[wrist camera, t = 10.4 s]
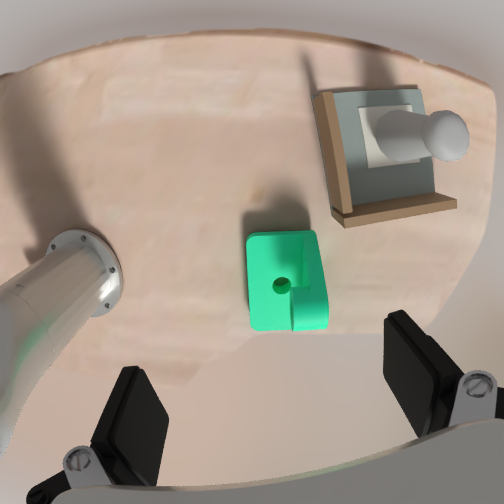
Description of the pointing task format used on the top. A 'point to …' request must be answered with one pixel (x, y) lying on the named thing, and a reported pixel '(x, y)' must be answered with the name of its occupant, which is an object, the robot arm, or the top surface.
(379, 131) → the salt shaker
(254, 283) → the camera mount
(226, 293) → the top surface
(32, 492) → the robot arm
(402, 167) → the grey and wooden tray
